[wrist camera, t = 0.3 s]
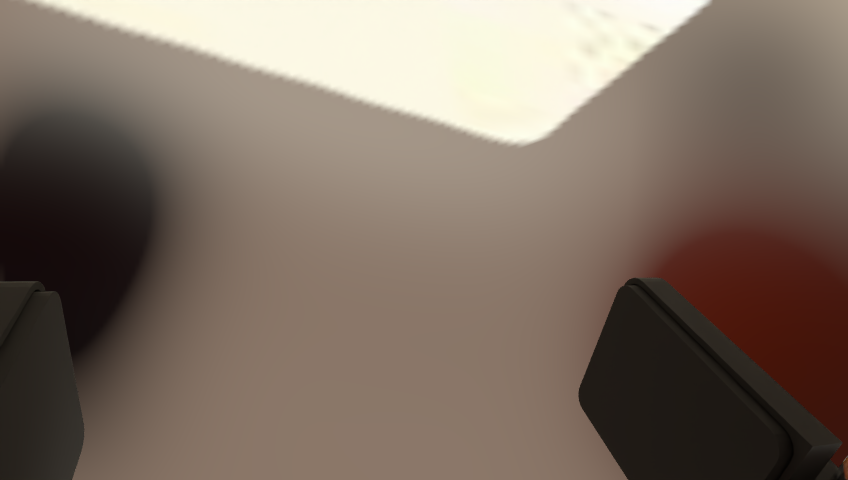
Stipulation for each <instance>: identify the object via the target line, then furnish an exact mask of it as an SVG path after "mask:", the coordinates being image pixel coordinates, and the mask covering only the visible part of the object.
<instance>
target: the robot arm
mask: <svg viewBox="0 0 848 480" xmlns="http://www.w3.org/2000/svg"><path fill="white" fill-rule="evenodd" d="M579 402H580V405H581V407H582V409H583V410H584V412H585V413H586V415H587V417H588V418H589V420H590V421H591V423H592V424H593V426H594V428H595V429H596V431H597V432H598V434H599V435H600V437H601V438H602V440H603V441H604V443H605V444H606V446H607V448H608V449H609V451H610V452H611V454H612V455H613V457H614V459H615V460H616V462H617V463H618V465H619V466H620V468H621V469H622V471H623V472H624V474H625V476H626V477H627V479H628V480H848V456H847V458H846V459H845V460H844V461H843V463H842V464H841V465H840V467H839V468H838V467H837V466H836V465H835V464H834V463H833V462H832V461H831V460H830V459H831V457H832V456H833V455H834V453H835V452H836V451H837V449H838V448H839V447H840V445H841V444H842V442H841V441H840V440H839V439H838V438H837V437H836V436H834V435H833V434H832V433H831V432H830V431H829V430H828V429H827V428H826V427H825V426H824V425H823V424H821V423H820V422H819V421H818V420H817V419H816V418H815V417H814V416H812V414H810V413H809V412H808V411H807V410H806V409H805V408H804V407H803V406H802V405H801V404H800V403H799V402H797V401H796V400H795V399H794V398H793V397H792V396H791V395H790V394H789V393H788V392H787V391H785V390H784V389H783V388H782V387H781V386H780V385H779V384H778V383H777V382H776V381H774V380H773V379H772V378H771V377H770V376H769V375H768V374H767V373H766V372H764V370H762V369H761V368H760V367H759V366H758V365H757V364H756V363H755V362H754V361H753V360H751V359H750V358H749V357H748V356H747V355H746V354H745V353H744V352H743V351H742V350H741V349H740V348H738V347H737V346H736V345H735V344H734V343H733V342H732V341H731V340H730V339H729V338H727V337H726V336H725V335H724V334H723V333H722V332H721V331H720V330H719V329H718V328H717V327H715V326H714V325H713V324H712V323H711V322H710V321H709V320H708V319H707V318H706V317H704V316H703V315H702V314H701V313H700V312H699V311H698V310H697V309H696V308H695V307H694V306H692V305H691V304H690V303H689V302H688V301H687V300H686V299H685V298H684V297H683V296H682V295H681V294H679V293H678V292H677V291H676V290H675V289H674V288H673V287H672V286H671V285H670V284H668V283H667V282H666V281H665V280H663V279H661V278H632V279H629V280H628V281H627V282H626V283H625V285H624V286H622V287H621V288H620V289H619V290H618V292H617V294H616V297H615V299H614V302H613V304H612V307H611V310H610V312H609V315H608V317H607V320H606V322H605V325H604V327H603V330H602V332H601V335H600V337H599V340H598V342H597V345H596V348H595V350H594V352H593V355H592V357H591V360H590V363H589V365H588V368H587V370H586V373H585V375H584V378H583V380H582V383H581V385H580V388H579ZM83 440H84V423H83V418H82V412H81V407H80V402H79V397H78V391H77V386H76V380H75V375H74V370H73V364H72V359H71V354H70V348H69V343H68V338H67V332H66V327H65V322H64V316H63V311H62V305H61V301H60V297H59V295H58V293H57V292H45V288H44V286H43V285H42V283H40V282H37V281H32V282H31V281H30V282H0V480H72V478H73V475H74V472H75V469H76V466H77V463H78V460H79V456H80V454H81V450H82V446H83Z"/></svg>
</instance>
